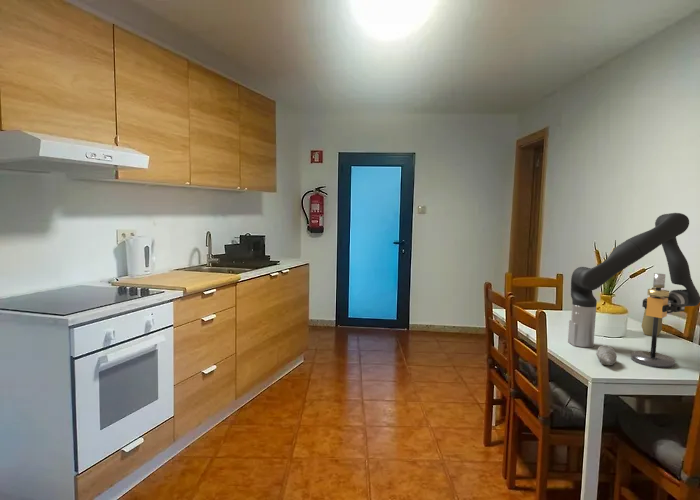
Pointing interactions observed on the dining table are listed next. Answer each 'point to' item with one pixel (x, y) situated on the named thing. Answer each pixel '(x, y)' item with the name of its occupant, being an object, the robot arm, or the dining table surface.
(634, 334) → the dining table surface
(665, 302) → the sleeve
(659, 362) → the post
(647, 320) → the squeeze bottle
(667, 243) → the robot arm
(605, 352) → the grey stone
